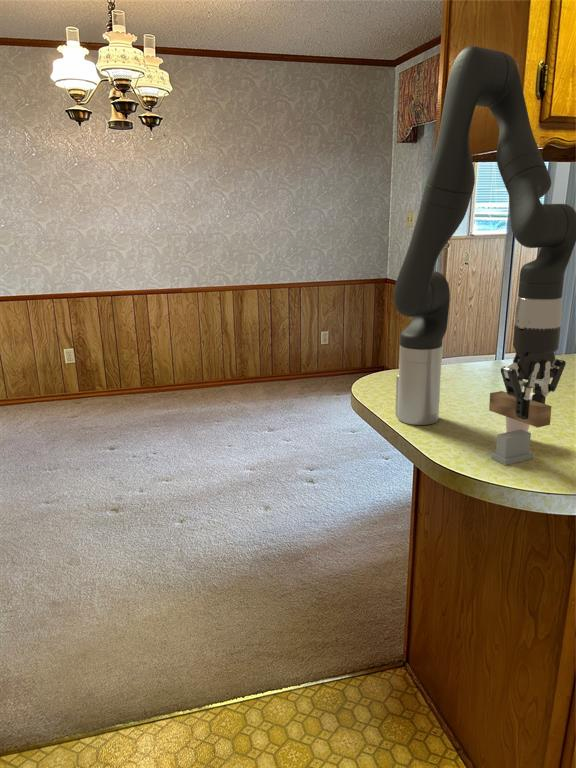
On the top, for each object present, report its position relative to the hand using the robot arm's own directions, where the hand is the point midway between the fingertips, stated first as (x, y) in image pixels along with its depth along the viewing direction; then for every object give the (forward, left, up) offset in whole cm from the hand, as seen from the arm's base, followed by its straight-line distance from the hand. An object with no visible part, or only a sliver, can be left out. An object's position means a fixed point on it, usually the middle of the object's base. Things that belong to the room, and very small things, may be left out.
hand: (529, 416), depth 110 cm
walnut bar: (-3, 0, -1) cm, 3 cm away
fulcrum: (-3, 0, -9) cm, 10 cm away
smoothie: (-10, +8, -10) cm, 16 cm away
